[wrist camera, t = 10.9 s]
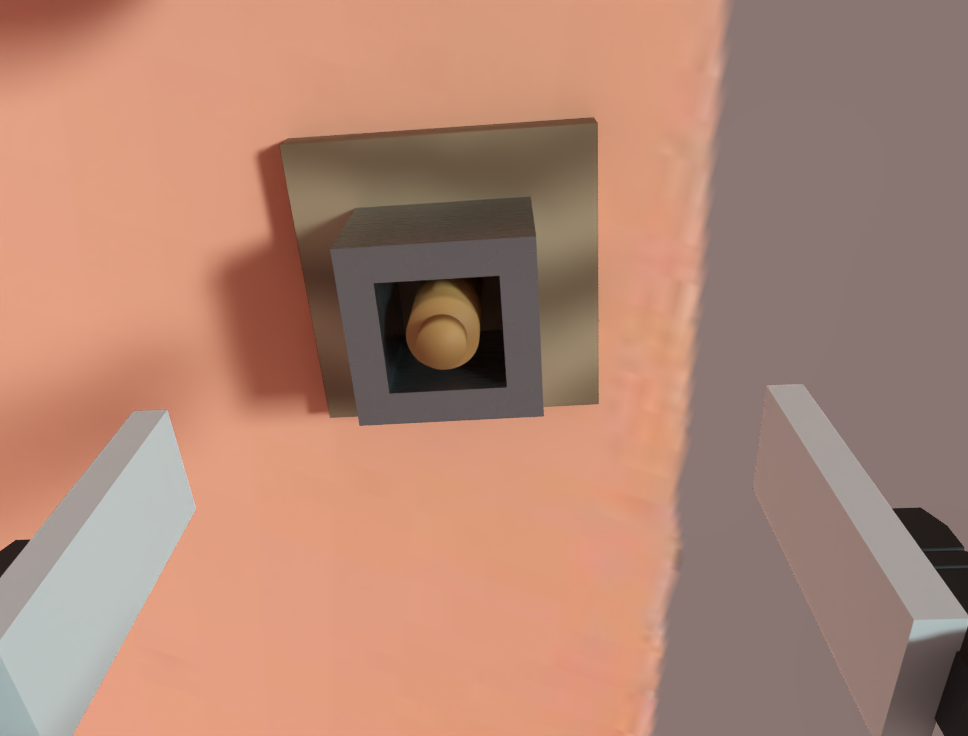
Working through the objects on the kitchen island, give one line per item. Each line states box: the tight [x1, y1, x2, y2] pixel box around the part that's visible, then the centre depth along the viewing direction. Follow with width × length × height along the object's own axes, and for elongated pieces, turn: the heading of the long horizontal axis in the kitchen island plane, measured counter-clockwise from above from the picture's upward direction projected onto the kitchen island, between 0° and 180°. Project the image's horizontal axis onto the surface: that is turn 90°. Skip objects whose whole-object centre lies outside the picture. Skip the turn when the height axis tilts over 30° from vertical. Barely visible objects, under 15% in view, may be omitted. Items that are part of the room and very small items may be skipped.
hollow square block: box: [330, 196, 544, 426], centre depth 34 cm, size 8×8×6 cm
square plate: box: [279, 118, 599, 418], centre depth 34 cm, size 14×14×8 cm
